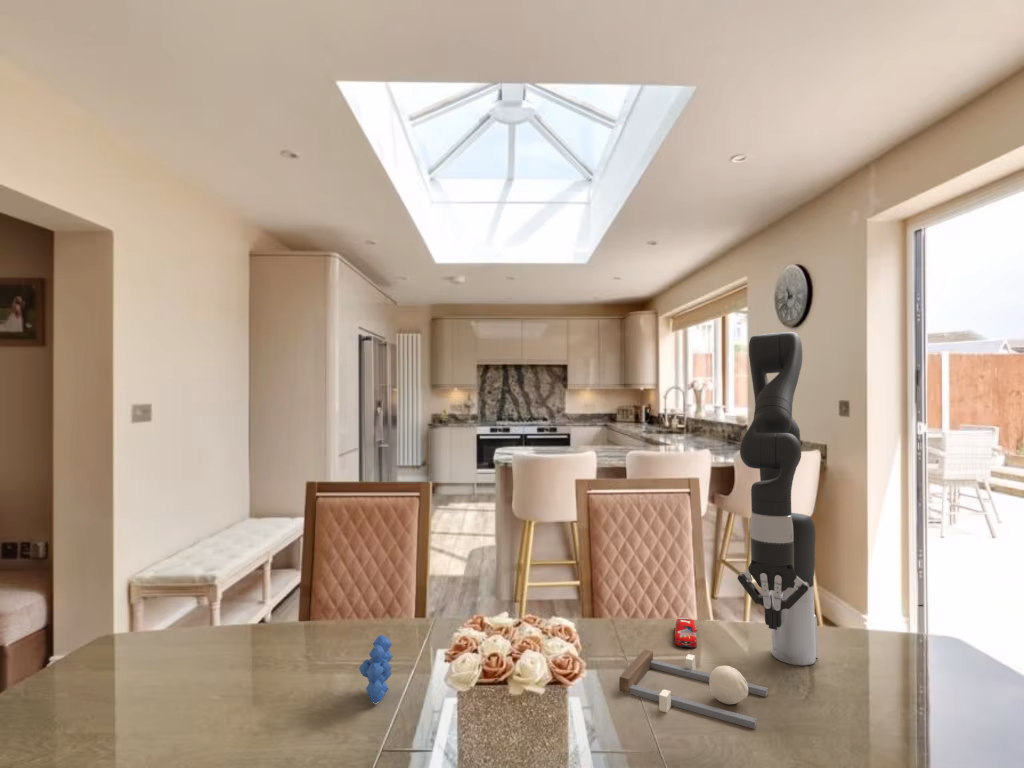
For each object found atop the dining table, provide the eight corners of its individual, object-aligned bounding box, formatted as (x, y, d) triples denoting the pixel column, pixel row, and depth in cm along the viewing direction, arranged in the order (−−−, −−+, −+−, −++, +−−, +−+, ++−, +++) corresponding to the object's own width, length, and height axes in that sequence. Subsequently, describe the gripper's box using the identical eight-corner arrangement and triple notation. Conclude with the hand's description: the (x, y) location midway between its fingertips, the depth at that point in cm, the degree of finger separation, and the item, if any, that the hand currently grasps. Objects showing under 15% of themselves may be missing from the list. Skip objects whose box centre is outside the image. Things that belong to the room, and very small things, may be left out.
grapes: (366, 683, 122) (366, 626, 122) (398, 682, 122) (397, 626, 122) (350, 713, 110) (350, 650, 111) (385, 712, 110) (384, 650, 111)
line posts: (695, 669, 126) (695, 655, 126) (667, 712, 109) (666, 696, 109) (688, 667, 127) (688, 654, 127) (659, 710, 110) (659, 694, 110)
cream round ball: (745, 715, 108) (744, 679, 108) (705, 704, 112) (705, 670, 112) (751, 699, 114) (751, 665, 114) (714, 689, 118) (713, 657, 118)
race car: (697, 651, 136) (697, 635, 136) (673, 649, 137) (673, 632, 137) (697, 629, 148) (697, 614, 148) (675, 627, 150) (675, 612, 150)
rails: (767, 693, 116) (767, 687, 116) (754, 729, 103) (754, 722, 103) (652, 665, 129) (652, 659, 129) (629, 693, 116) (629, 687, 116)
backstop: (653, 664, 129) (652, 651, 129) (628, 693, 116) (628, 679, 116) (644, 662, 130) (644, 649, 130) (619, 691, 117) (619, 676, 117)
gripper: (812, 536, 109) (814, 628, 108) (739, 528, 116) (741, 614, 115) (808, 545, 102) (810, 642, 102) (731, 536, 109) (733, 627, 109)
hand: (773, 627), depth 109 cm, fingers closed
